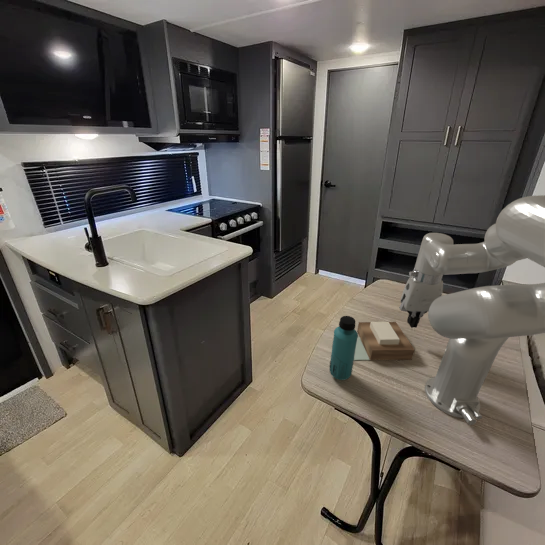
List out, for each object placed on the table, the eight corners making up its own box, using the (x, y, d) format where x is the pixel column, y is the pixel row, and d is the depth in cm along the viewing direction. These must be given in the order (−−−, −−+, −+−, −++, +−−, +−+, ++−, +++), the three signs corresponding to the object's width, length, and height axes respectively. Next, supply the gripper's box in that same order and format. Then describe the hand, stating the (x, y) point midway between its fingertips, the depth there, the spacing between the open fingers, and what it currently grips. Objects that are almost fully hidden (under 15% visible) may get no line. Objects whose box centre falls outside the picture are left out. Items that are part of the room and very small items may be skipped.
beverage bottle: (355, 376, 82) (366, 319, 73) (342, 388, 78) (351, 330, 69) (336, 363, 87) (344, 308, 78) (323, 375, 83) (330, 318, 74)
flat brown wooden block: (411, 359, 88) (414, 349, 87) (370, 360, 88) (372, 350, 86) (393, 331, 101) (395, 322, 99) (357, 331, 101) (358, 322, 99)
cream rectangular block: (398, 344, 89) (399, 339, 88) (379, 344, 89) (380, 339, 88) (387, 326, 97) (388, 321, 96) (369, 326, 97) (370, 321, 96)
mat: (369, 360, 88) (369, 359, 88) (346, 360, 88) (347, 359, 88) (358, 337, 98) (359, 336, 98) (338, 337, 98) (338, 336, 98)
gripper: (407, 281, 80) (393, 332, 89) (460, 281, 80) (440, 332, 89) (396, 269, 86) (384, 317, 95) (445, 269, 87) (428, 317, 96)
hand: (411, 324), depth 92 cm, fingers closed
